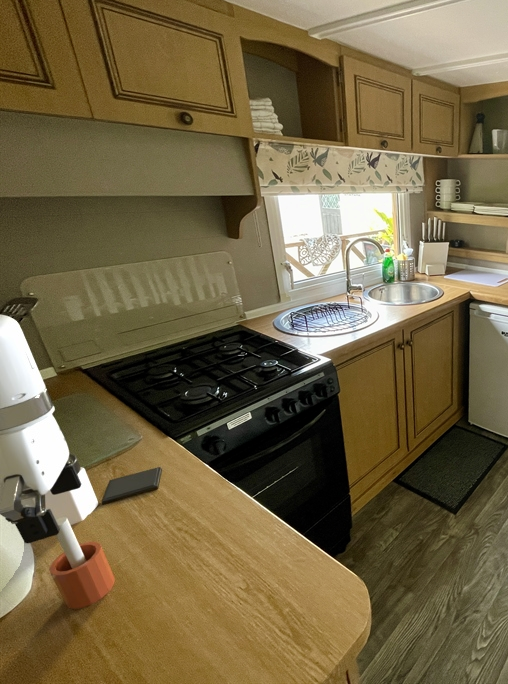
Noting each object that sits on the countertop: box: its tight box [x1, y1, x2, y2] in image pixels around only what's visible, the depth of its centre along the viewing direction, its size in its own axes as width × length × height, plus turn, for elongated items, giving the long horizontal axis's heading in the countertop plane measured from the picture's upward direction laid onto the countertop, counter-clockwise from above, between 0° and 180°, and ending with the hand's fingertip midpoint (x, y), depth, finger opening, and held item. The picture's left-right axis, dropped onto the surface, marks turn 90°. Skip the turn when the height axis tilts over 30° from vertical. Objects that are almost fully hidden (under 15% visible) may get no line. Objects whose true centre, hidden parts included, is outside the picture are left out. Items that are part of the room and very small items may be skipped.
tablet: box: [101, 466, 163, 506], centre depth 81 cm, size 9×7×1 cm
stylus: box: [55, 518, 87, 569], centre depth 57 cm, size 2×2×15 cm
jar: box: [21, 453, 100, 526], centre depth 71 cm, size 9×8×12 cm
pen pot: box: [48, 541, 116, 610], centre depth 58 cm, size 6×6×8 cm
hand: (56, 512), depth 53 cm, fingers open, 9 cm apart
